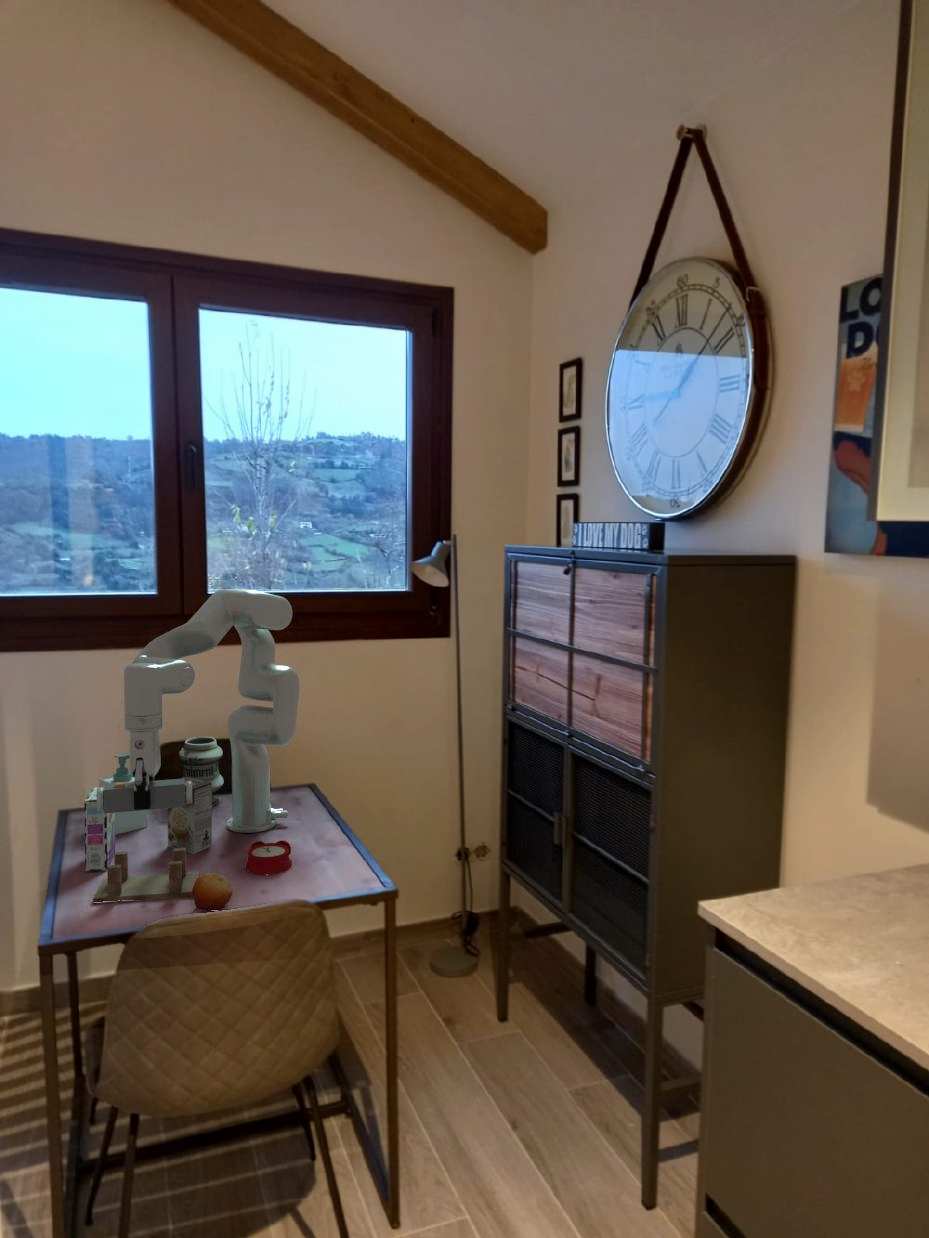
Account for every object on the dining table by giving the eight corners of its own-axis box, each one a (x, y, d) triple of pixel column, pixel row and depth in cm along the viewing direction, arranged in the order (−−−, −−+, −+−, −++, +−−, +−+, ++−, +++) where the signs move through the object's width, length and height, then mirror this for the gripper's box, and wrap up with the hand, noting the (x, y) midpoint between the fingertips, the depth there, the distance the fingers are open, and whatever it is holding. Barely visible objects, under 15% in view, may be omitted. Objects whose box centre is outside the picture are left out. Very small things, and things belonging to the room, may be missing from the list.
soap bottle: (148, 827, 221) (146, 754, 219) (114, 835, 214) (112, 760, 212) (132, 819, 227) (131, 748, 225) (99, 826, 220) (97, 754, 218)
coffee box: (166, 847, 207) (165, 782, 205) (186, 839, 213) (185, 776, 211) (194, 854, 203) (193, 788, 201) (213, 845, 208) (212, 781, 207)
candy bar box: (108, 871, 192) (106, 799, 190) (84, 872, 191) (82, 801, 189) (117, 852, 203) (115, 785, 201) (94, 854, 202) (92, 786, 200)
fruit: (187, 893, 178) (207, 861, 177) (221, 911, 179) (241, 879, 178) (178, 910, 170) (198, 876, 169) (213, 929, 171) (234, 895, 170)
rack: (199, 877, 189) (199, 846, 188) (195, 896, 179) (194, 863, 179) (103, 884, 185) (102, 851, 184) (93, 903, 175) (92, 869, 174)
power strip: (192, 799, 189) (191, 775, 189) (192, 806, 185) (192, 780, 184) (98, 807, 183) (98, 781, 183) (96, 814, 178) (96, 788, 178)
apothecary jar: (181, 811, 233) (180, 746, 232) (176, 798, 244) (175, 736, 243) (227, 806, 238) (226, 742, 237) (220, 793, 249) (219, 733, 248)
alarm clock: (242, 863, 189) (248, 825, 203) (243, 887, 191) (249, 848, 205) (290, 861, 191) (293, 824, 205) (290, 885, 193) (293, 847, 207)
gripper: (155, 729, 174) (156, 816, 176) (168, 712, 191) (169, 792, 193) (116, 730, 173) (117, 818, 175) (132, 713, 190) (133, 793, 191)
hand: (144, 803), depth 184 cm, fingers closed on power strip, 5 cm apart
